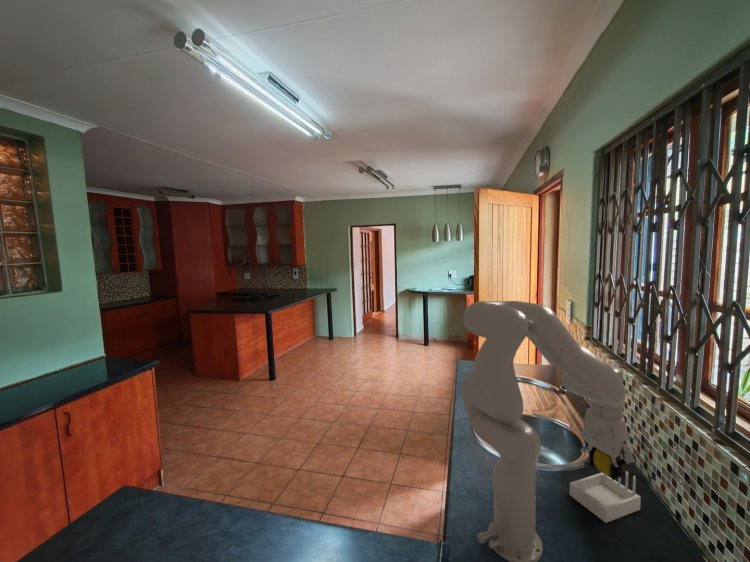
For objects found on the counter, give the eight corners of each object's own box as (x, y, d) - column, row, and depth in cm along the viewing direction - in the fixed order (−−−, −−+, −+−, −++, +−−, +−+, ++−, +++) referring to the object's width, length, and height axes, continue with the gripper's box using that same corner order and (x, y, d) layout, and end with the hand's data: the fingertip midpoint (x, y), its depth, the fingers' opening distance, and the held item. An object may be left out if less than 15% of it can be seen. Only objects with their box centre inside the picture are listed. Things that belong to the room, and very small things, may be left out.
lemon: (620, 481, 91) (621, 453, 91) (598, 479, 93) (598, 451, 92) (611, 468, 97) (611, 442, 96) (589, 466, 98) (590, 440, 97)
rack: (605, 522, 88) (606, 491, 87) (569, 494, 98) (570, 466, 98) (640, 509, 92) (641, 479, 91) (602, 484, 103) (602, 456, 102)
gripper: (568, 399, 100) (568, 456, 102) (628, 426, 84) (626, 494, 85) (587, 395, 102) (587, 451, 104) (648, 421, 86) (647, 487, 88)
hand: (604, 470), depth 95 cm, fingers closed on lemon, 5 cm apart
